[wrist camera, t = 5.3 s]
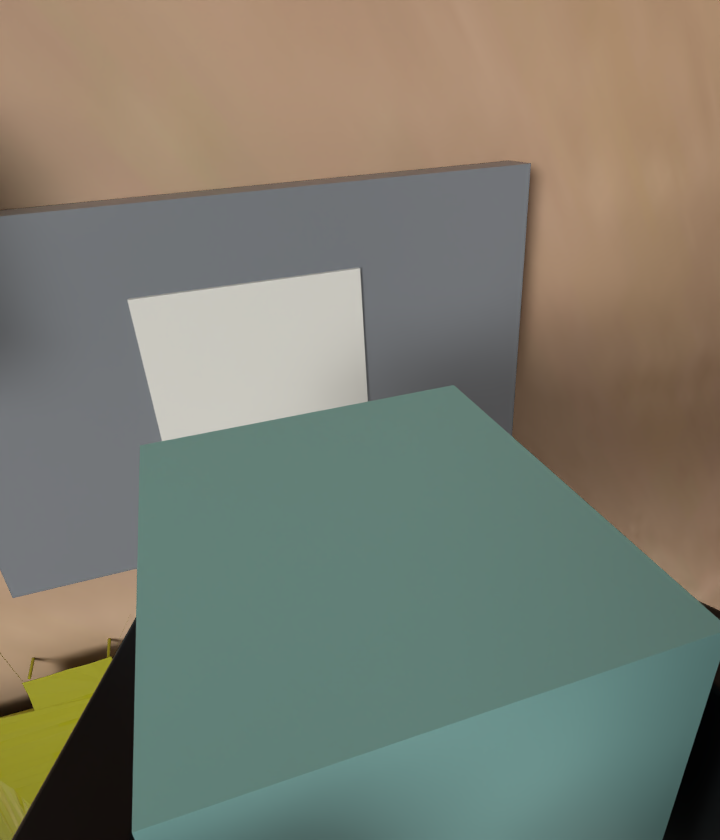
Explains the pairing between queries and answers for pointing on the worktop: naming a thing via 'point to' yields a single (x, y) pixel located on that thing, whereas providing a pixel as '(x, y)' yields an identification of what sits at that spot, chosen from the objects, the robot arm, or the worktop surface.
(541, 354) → the worktop surface
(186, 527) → the teal block
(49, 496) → the slate plate
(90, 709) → the robot arm
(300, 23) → the worktop surface
